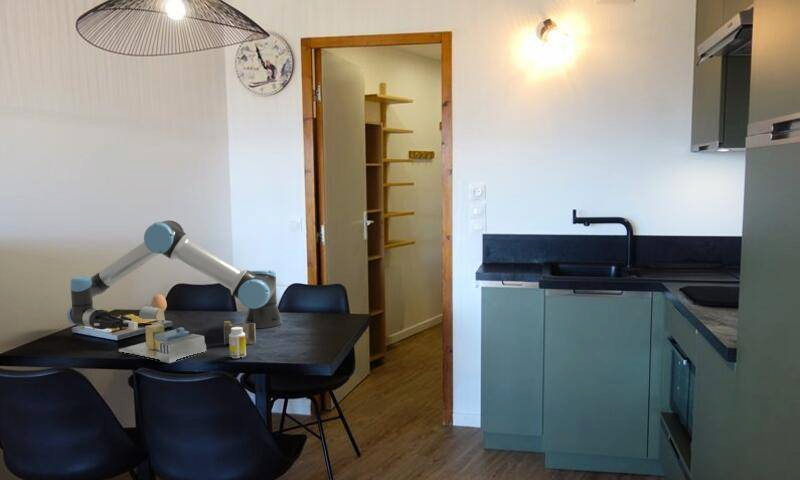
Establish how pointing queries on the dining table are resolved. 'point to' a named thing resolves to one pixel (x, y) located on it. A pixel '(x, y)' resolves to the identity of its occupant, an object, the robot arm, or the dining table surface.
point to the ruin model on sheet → (247, 329)
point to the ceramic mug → (151, 313)
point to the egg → (159, 302)
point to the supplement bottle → (237, 342)
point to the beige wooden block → (150, 333)
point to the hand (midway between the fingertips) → (135, 326)
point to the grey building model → (170, 346)
